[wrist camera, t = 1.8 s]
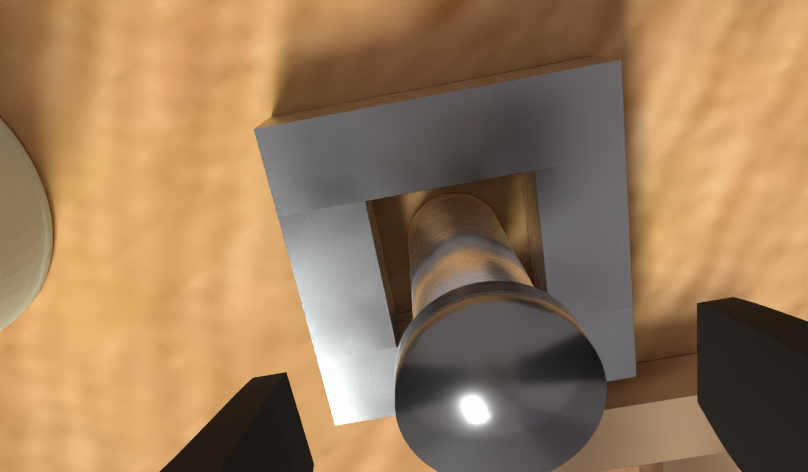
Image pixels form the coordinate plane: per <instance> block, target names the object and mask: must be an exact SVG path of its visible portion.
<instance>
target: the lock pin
mask: <svg viewBox="0 0 808 472" xmlns="http://www.w3.org/2000/svg"><path fill="white" fill-rule="evenodd" d="M408 246H409V263H410V279H411V295H412V312H413V320H412V321H411V323H410V324H409V326H408V327H407V329H406V330H405V332H404V334H403V336H402V338H401V340H400V343H399V346H398V349H397V353H396V359H395V413H396V419H397V422H398V425H399V429H400V431H401V433H402V435H403V437H404V439H405V441H406V442H407V444H408V445H409V447H410V448H411V450H412V451H413V452H414V453H415V454H416V455H417V456H418V457H419V458H420V459H421V460H422V461H424V462H425V463H426V464H427V465H428V466H430V467H432V468H433V469H435V470H436V471H438V472H551V471H553V470H555V469H556V468H558V467H560V466H562V465H563V464H564V463H566V462H567V461H569V460H570V459H571V458H573V457H574V456H575V455H576V454H577V453H578V452H579V451H580V450H581V449H582V448H583V447H584V446H585V445H586V443H587V442H588V441H589V440H590V438H591V437H592V435H593V434H594V432H595V431H596V429H597V427H598V425H599V423H600V421H601V418H602V415H603V412H604V409H605V404H606V398H607V382H606V375H605V371H604V368H603V365H602V362H601V360H600V358H599V356H598V354H597V352H596V350H595V349H594V347H593V345H592V344H591V342H590V341H589V339H588V337H587V336H586V334H585V332H584V331H583V329H582V328H581V326H580V324H579V323H578V321H577V320H576V318H575V317H574V316H573V314H572V313H571V312H570V311H569V310H568V309H567V308H566V307H565V306H564V305H563V304H562V303H561V302H560V301H558V300H557V299H556V298H555V297H553V296H551V295H550V294H548V293H546V292H544V291H543V290H540V289H538V288H535V287H534V286H533V284H532V283H531V281H530V279H529V277H528V275H527V273H526V271H525V269H524V268H523V266H522V264H521V262H520V260H519V258H518V256H517V255H516V253H515V251H514V249H513V247H512V245H511V243H510V241H509V240H508V238H507V236H506V234H505V232H504V230H503V228H502V226H501V225H500V223H499V221H498V219H497V217H496V215H495V213H494V212H493V211H492V209H491V208H490V207H489V206H488V205H487V204H486V203H484V202H483V201H482V200H480V199H478V198H476V197H474V196H472V195H468V194H463V193H449V194H444V195H440V196H438V197H435V198H433V199H431V200H430V201H428V202H427V203H425V204H424V205H423V206H422V207H421V208H420V209H419V210H418V211H417V213H416V214H415V216H414V217H413V219H412V222H411V224H410V227H409V233H408Z"/></svg>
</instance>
